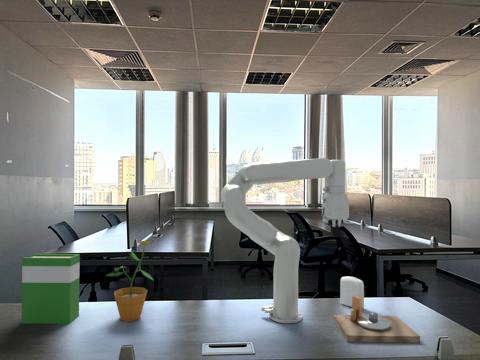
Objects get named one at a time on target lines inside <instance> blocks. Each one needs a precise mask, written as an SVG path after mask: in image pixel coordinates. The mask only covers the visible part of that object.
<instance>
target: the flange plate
mask: <svg viewBox="0 0 480 360" xmlns="http://www.w3.org/2000/svg"><path fill="white" fill-rule="evenodd" d="M351 309H355V310H356V320H357V323H358V325H359V326H361V327H363V328H366V329H369V330H375V331H384V330H388V329H389V328H390V322H389V321H388V320H387V319H385V318H382V317H378V316H379V313H377V312H375V311H370V312H369V313H368V314H367V315H365V314H364V315H363V309H362V297H358V296H353V297H352V307H351ZM362 315H363V316H362Z"/></svg>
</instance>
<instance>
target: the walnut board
mask: <svg viewBox="0 0 480 360" xmlns="http://www.w3.org/2000/svg"><path fill="white" fill-rule="evenodd" d="M349 310H350V311H349V312H350V314H333V315H332V318H333V319H332V320H333V322H334V323H335V326H336V327H337V328H338V330H339V331H340V333H341V334H342V336H343V338H344V339H345V341H346V342H353V343H355V342H361V343H362V342H365V343H372V342H373V343H421V336H420V335H419V334H418V333H416V331H414V329H412V328H411V326H408V325H407V324H406V323H405V321H403V320H402V319H401V318H400V317H398V316H397V315H378V317H382V318H385V319H387V320H388V321H389V322H390V328H389V329H388V330H384V331H375V330H369V329H366V328H363V327H361V326H359V325H358V323H357V320H356V310H355V309H352V308H350V309H349ZM362 316H363V314H362Z"/></svg>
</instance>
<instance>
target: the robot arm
mask: <svg viewBox="0 0 480 360" xmlns="http://www.w3.org/2000/svg"><path fill="white" fill-rule="evenodd" d="M314 179H325V186H324V187H323V188H322V191H323V192H324V195H323V198H322V206H321V217H322V219H321V220H322V222H324V223H327V224H328V225H329V227H330V236H331V237H334V238H339V236H340V228H341V225H342V224H343V223H346V222H348V219H349V218H350V203H349V199H348V198H349V197H348V194H347V193H346V162H345V161H344V160H342V159H331V160H330V159H329V158H325V157H321V158H320V157H318V158H309V159H308V158H307V159H306V158H305V159H286V160H285V159H284V160H283V159H282V160H273V161H259V162H256V161H255V162H251V163H250V162H249V163H247V164H244V165H243V166H242V167H240V169H239V170H238V171H237V172H236V174H235V175H233V177H232V178H231V179H230V180H229V181H227V183H226V184H225V186H224V187H222V189H221V192H220V198H221V200H222V202H223V206H224V207H223V208H224V213H225V216H226V218H227V220H228V221H229V222H230V223H231V224H232V226H234V227H235V228H236V229H238V230H239V231H240V232H241V233H243V234H245V235H246V236H248V237H249V239H250V240H252V241H253V242H254V243H256V244H257V245H259V246H260V247H262V248H263V249H265V250H266V251H268V252H270V253H271V254H272V255H274V263H273V275H272V276H273V289H272V290H273V302H272V303H271V304H270V305H269V306H266V305H262V306H261V312H264V313H265V314H269V316H268V317H269V319H270V320H272V321H274V322H275V323H276V322H277V323H280V324H296V323H298V322H300V321H302V318H303V315H302V313H301V312H300V311H299V266H300V265H299V262H300V255H301V248H300V245H299V242H298V241H297V240H296V238H293V237H292V236H290V235H288V234H285V233H283V232H282V231H280V230H279V229H278V228H276V227H275V226H274V225H273V224H272V223H270V221H268V220H266V219H264V218H262V217H261V216H259V215H258V214H256V213H255V212H253V211H252V210H251V209H250V208H249V207H248V205H247V204H246V203H247V202H246V200H247V199H246V196H247V195H246V194H247V193H248V191H250V189H251V188H252V187H253V186H254V185H255V186H256V185H267V184H276V183H289V182H295V181H302V180H314Z"/></svg>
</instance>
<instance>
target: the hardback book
mask: <svg viewBox="0 0 480 360" xmlns="http://www.w3.org/2000/svg"><path fill="white" fill-rule="evenodd" d="M80 256H81V255H80V253H72V254H71V253H33V254H32V256H31V257H30V256H29V257H22V259H21V261H22V262H21V263H22V264H21V267H22V271H21V272H22V273H21V277H22V278H21V324H25V325H27V324H29V325H30V324H38V325H40V324H43V325H47V324H49V325H50V324H52V325H53V324H54V325H56V324H57V325H59V324H60V325H66V324H68V325H70V324H72V323H73V322H74V321H75V320H76V319H77V318H78V317H80V271H81V270H80V264H81V263H80V261H81V258H80Z"/></svg>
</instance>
